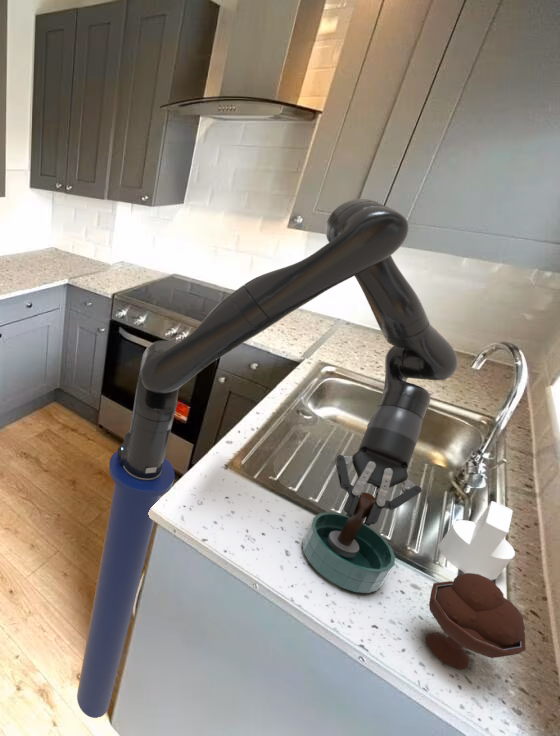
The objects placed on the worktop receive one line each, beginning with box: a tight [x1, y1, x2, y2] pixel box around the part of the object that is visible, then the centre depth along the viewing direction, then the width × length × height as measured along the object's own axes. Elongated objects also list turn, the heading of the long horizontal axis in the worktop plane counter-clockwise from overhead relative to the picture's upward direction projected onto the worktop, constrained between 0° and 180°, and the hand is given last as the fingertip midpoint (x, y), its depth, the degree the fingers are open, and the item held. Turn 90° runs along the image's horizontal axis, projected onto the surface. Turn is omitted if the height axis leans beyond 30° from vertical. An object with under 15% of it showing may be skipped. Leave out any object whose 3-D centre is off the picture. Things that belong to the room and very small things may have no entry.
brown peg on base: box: [327, 492, 375, 558], centre depth 80 cm, size 5×5×13 cm
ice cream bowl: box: [425, 573, 527, 670], centre depth 65 cm, size 11×11×15 cm
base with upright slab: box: [438, 500, 516, 581], centre depth 82 cm, size 9×9×12 cm
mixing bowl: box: [301, 511, 396, 594], centre depth 81 cm, size 13×13×6 cm
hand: (358, 519), depth 77 cm, fingers closed on brown peg on base
